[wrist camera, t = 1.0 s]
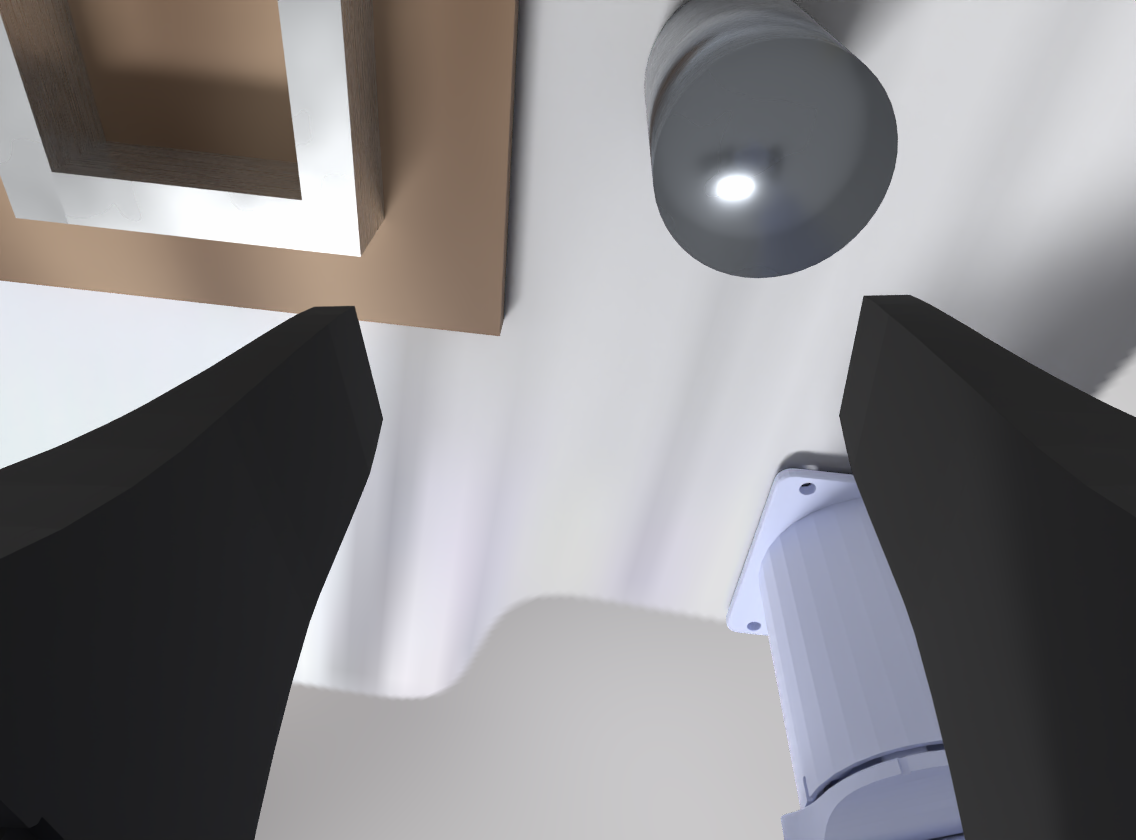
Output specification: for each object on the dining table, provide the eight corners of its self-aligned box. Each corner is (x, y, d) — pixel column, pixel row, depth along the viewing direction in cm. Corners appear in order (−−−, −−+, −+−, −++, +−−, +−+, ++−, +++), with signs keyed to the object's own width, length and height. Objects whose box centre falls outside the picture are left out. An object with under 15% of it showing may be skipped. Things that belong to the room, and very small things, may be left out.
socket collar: (362, -178, 14) (326, -181, 13) (384, 219, 19) (360, 256, 17) (-56, -228, 14) (-153, -238, 12) (72, 184, 19) (15, 217, 17)
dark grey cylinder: (843, -7, 16) (937, 54, 11) (793, 176, 19) (852, 289, 14) (660, -28, 16) (676, 23, 11) (632, 158, 19) (636, 264, 14)
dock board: (537, -378, 13) (532, -390, 12) (503, 321, 22) (499, 335, 21) (-274, -479, 13) (-322, -496, 12) (13, 266, 21) (-6, 280, 21)
